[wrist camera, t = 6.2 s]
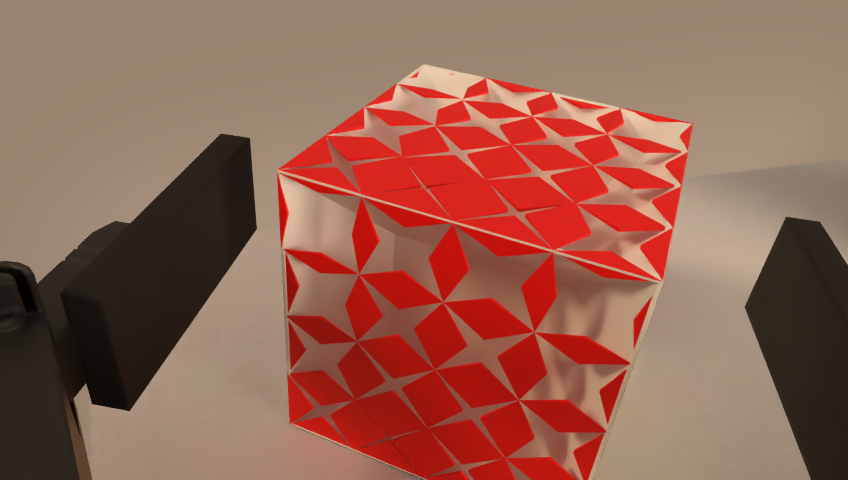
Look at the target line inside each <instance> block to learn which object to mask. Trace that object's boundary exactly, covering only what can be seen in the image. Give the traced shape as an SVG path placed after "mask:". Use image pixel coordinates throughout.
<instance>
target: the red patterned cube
mask: <svg viewBox="0 0 848 480" xmlns="http://www.w3.org/2000/svg"><path fill="white" fill-rule="evenodd" d="M693 125H694V124H693V123H689V122H684V121H679V120H675V119H670V118H666V117H661V116H657V115H652V114H648V113H643V112H639V111H634V110H630V109H625V108H621V107H616V106H611V105H607V104H602V103H598V102H593V101H589V100H584V99H580V98H575V97H570V96H566V95H562V94H557V93H553V92H548V91H544V90H539V89H534V88H530V87H526V86H521V85H517V84H512V83H508V82H503V81H499V80H494V79H489V78H484V77H480V76H476V75H471V74H466V73H462V72H457V71H453V70H449V69H444V68H440V67H435V66H430V65H426V64H423V65H422V66H420V67H419V68H418V69H416V70H415V71H413V72H412V73H411V74H410V75H408V76H407V77H405V78H404V79H403V80H401V81H400V82H398V83H397V84H396V85H394V86H393V87H391V88H390V89H389V90H387V91H386V92H385V93H383V94H382V95H380V96H379V97H378V98H376V99H375V100H373V101H372V102H371V103H369V104H368V105H367V106H365V107H364V108H362V109H361V110H360V111H358V112H357V113H355V114H354V115H353V116H351V117H350V118H348V119H347V120H346V121H344V122H343V123H342V124H340V125H339V126H338V127H336V128H335V129H333V130H332V131H331V132H329V133H328V134H326V135H325V136H324V137H322V138H321V139H320V140H318V141H317V142H315V143H314V144H313V145H311V146H310V147H308V148H307V149H306V150H304V151H303V152H302V153H300V154H299V155H297V156H296V157H295V158H293V159H292V160H290V161H289V162H288V163H286V164H285V165H284V166H282V167H281V168H279V169H278V170H277V179H278V198H279V216H280V217H279V218H280V238H281V258H282V277H283V297H284V316H285V336H286V355H287V376H288V396H289V415H290V424H291V425H294V426H296V427H299V428H301V429H303V430H306V431H308V432H311V433H313V434H315V435H318V436H320V437H323V438H325V439H328V440H330V441H332V442H335V443H337V444H340V445H342V446H344V447H347V448H349V449H352V450H354V451H356V452H359V453H361V454H364V455H366V456H369V457H371V458H373V459H376V460H378V461H381V462H383V463H385V464H388V465H390V466H393V467H395V468H398V469H400V470H402V471H405V472H407V473H410V474H412V475H414V476H417V477H419V478H422V479H424V480H593V478H594V475H595V472H596V469H597V467H598V464H599V461H600V458H601V455H602V453H603V450H604V447H605V444H606V441H607V439H608V436H609V433H610V430H611V428H612V425H613V422H614V419H615V416H616V414H617V411H618V408H619V405H620V402H621V400H622V397H623V394H624V391H625V388H626V386H627V383H628V380H629V377H630V374H631V372H632V369H633V366H634V363H635V360H636V358H637V355H638V352H639V349H640V346H641V344H642V341H643V338H644V335H645V332H646V330H647V327H648V324H649V321H650V319H651V316H652V313H653V310H654V307H655V305H656V302H657V299H658V296H659V293H660V291H661V288H662V285H663V282H664V276H665V271H666V266H667V261H668V256H669V250H670V245H671V240H672V235H673V229H674V224H675V219H676V214H677V208H678V203H679V198H680V193H681V188H682V182H683V177H684V172H685V166H686V161H687V156H688V151H689V146H690V140H691V135H692V130H693Z"/></svg>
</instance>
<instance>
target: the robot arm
mask: <svg viewBox="0 0 848 480" xmlns="http://www.w3.org/2000/svg"><path fill="white" fill-rule="evenodd" d="M256 229H257V226H256V213H255V200H254V186H253V174H252V161H251V147H250V138H245V137H239V136H233V135H225V134H220V135H219V136H218V137H217V138H216V139H215V140H214V141H213V142H212V143H211V144H210V145H209V146H208V147H207V148H206V149H205V150H204V151H203V152H202V153H201V154H200V155H199V156H198V157H197V158H196V159H195V160H194V161H193V162H192V163H191V164H190V165H189V166H188V167H187V168H186V169H185V170H184V171H183V172H182V173H181V174H180V175H179V176H178V177H177V178H176V179H175V180H174V181H173V182H172V183H171V184H170V185H169V186H168V187H167V188H166V189H165V190H164V191H163V192H162V193H160V194H159V195H158V197H156V198H155V199H154V200H153V201H152V202H151V203H150V204H149V205H148V206H147V207H146V208H145V209H144V211H142V212H141V213H140V214H139V215H138V216H137V217H136V218H135V219H134V220H133V221H132V222H131V223H124V222H118V221H115V222H113V223H110V224H108V225H106V226H104V227H102V228H100V229H98V230H97V231H95V232H93V233H92V234H91V235H90V236H88V237H87V238H86V239H85V240H84V241H83V242H82V243H81V244H80V245H79V246H78V249H74V250H73V251H72V252H71V253H70V254H69V255H68V256H67V257H66V258H65V261H62V262H60V263H59V264H58V265H57V266H56V267H55V268H54V269H53V270H52V271H51V272H50V273H48V274H47V275H46V276H45V277H44V278H43V279H42V280H41V281H40V282H39V283H38V284H37V282H36V279H35V276H34V274H33V272H32V270H31V269H30V267H28V266H26V265H23V264H21V263H19V262H9V261H2V262H0V480H92V476H91V472H90V467H89V463H88V458H87V453H86V449H85V444H84V440H83V435H82V431H81V426H80V421H79V417H78V413H77V408H76V405H75V402H74V397H75V396H76V395H77V394H78V392H79V391H80V390H81V388H82V387H83V386H84V385H85V384H87V388H88V391H89V394H90V398H91V401H92V404H95V405H100V406H105V407H111V408H116V409H121V410H127V411H130V410H131V408H132V407H133V405H134V404H135V403H136V401H137V400H138V398H139V397H140V395H141V394H142V393H143V391H144V390H145V388H146V387H147V385H148V384H149V383H150V381H151V380H152V378H153V377H154V375H155V374H156V372H157V371H158V370H159V368H160V367H161V365H162V364H163V362H164V361H165V360H166V358H167V357H168V355H169V354H170V352H171V351H172V350H173V348H174V347H175V345H176V344H177V342H178V341H179V340H180V338H181V337H182V335H183V334H184V332H185V331H186V330H187V328H188V327H189V325H190V324H191V322H192V321H193V320H194V318H195V317H196V315H197V314H198V312H199V311H200V310H201V308H202V307H203V305H204V304H205V302H206V301H207V299H208V298H209V297H210V295H211V294H212V292H213V291H214V289H215V288H216V287H217V285H218V284H219V282H220V281H221V279H222V278H223V277H224V275H225V274H226V272H227V271H228V269H229V268H230V267H231V265H232V264H233V262H234V261H235V259H236V258H237V257H238V255H239V254H240V252H241V251H242V249H243V248H244V247H245V245H246V244H247V242H248V241H249V239H250V238H251V236H252V235H253V234H254V232H255V231H256ZM745 309H746V312H747V314H748V317H749V319H750V322H751V325H752V327H753V330H754V332H755V335H756V338H757V340H758V343H759V345H760V348H761V351H762V353H763V356H764V358H765V361H766V364H767V366H768V369H769V371H770V374H771V377H772V379H773V382H774V384H775V387H776V390H777V392H778V395H779V397H780V400H781V402H782V405H783V408H784V410H785V413H786V415H787V418H788V421H789V423H790V426H791V428H792V431H793V434H794V436H795V439H796V441H797V444H798V447H799V449H800V452H801V454H802V457H803V460H804V462H805V465H806V467H807V470H808V473H809V475H810V478H811V480H848V265H847V263H846V262H845V260H844V259H843V257H842V255H841V254H840V252H839V251H838V249H837V248H836V246H835V245H834V243H833V241H832V240H831V238H830V237H829V235H828V234H827V232H826V231H825V229H824V228H823V226H822V224H821V223H820V222H817V221H811V220H804V219H797V218H790V217H786V218H785V220H784V222H783V225H782V227H781V229H780V231H779V233H778V236H777V238H776V240H775V242H774V244H773V246H772V249H771V251H770V253H769V255H768V257H767V260H766V262H765V264H764V266H763V268H762V270H761V273H760V275H759V277H758V279H757V281H756V284H755V286H754V288H753V290H752V292H751V294H750V297H749V299H748V301H747V303H746V305H745Z"/></svg>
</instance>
